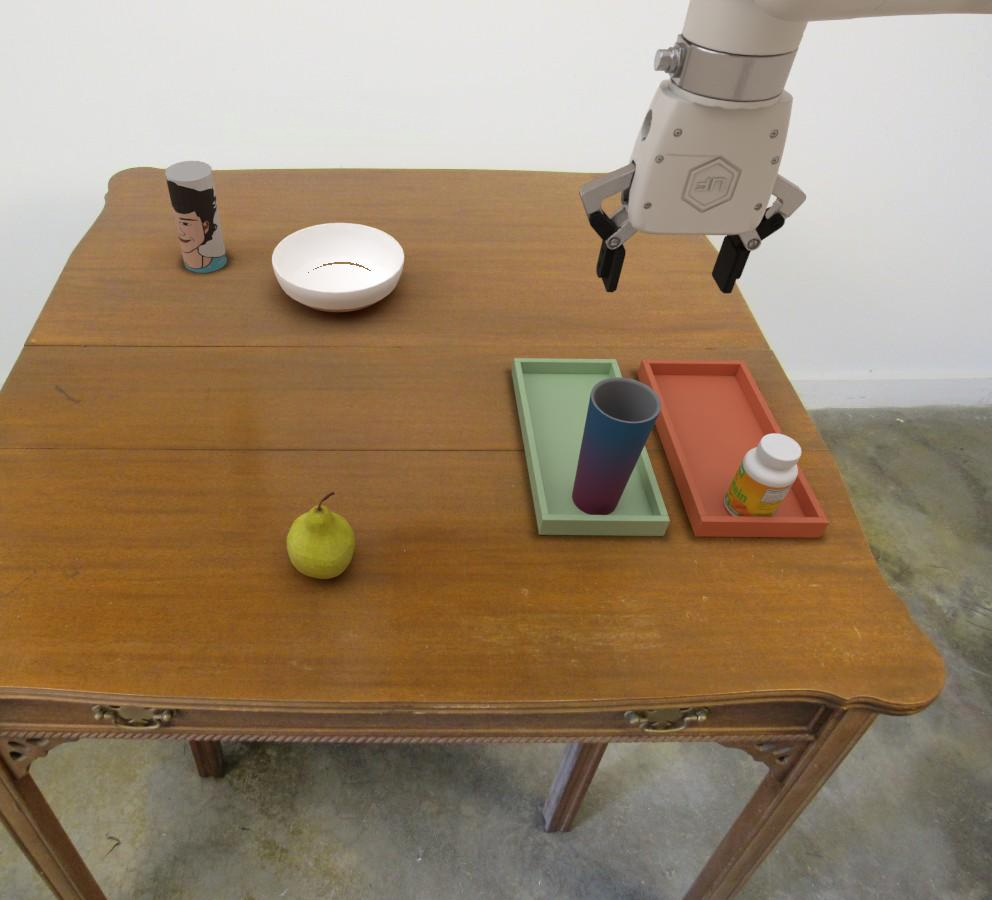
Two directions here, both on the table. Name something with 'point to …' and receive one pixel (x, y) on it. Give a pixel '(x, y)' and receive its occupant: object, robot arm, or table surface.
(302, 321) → the table surface
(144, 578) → the table surface
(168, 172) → the white printed cylinder
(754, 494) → the supplement bottle
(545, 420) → the sage tray
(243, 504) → the table surface
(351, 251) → the bowl
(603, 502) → the cup
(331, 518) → the fruit
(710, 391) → the terracotta tray
